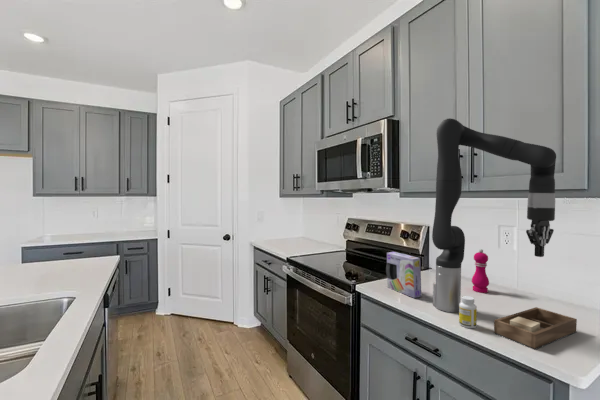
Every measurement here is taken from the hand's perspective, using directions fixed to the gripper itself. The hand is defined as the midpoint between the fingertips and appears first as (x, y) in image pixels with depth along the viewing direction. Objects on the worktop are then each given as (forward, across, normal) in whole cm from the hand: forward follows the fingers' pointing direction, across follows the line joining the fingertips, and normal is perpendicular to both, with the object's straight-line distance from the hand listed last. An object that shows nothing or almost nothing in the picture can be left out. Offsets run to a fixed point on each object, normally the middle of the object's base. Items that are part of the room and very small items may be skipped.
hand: (539, 256), depth 107 cm
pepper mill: (+26, -22, -34) cm, 48 cm away
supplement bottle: (+25, +20, -12) cm, 34 cm away
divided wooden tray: (+25, +5, +2) cm, 25 cm away
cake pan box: (+26, +14, -49) cm, 57 cm away
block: (+23, +13, +3) cm, 27 cm away
